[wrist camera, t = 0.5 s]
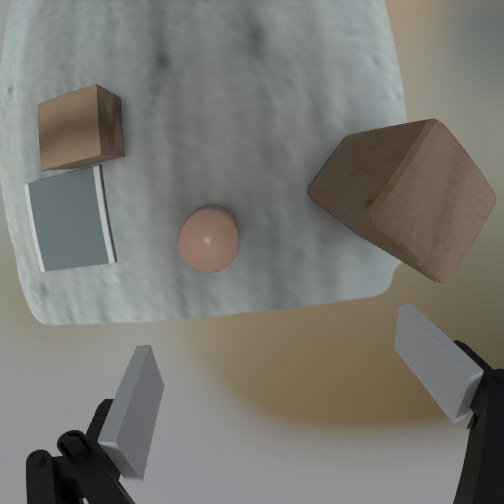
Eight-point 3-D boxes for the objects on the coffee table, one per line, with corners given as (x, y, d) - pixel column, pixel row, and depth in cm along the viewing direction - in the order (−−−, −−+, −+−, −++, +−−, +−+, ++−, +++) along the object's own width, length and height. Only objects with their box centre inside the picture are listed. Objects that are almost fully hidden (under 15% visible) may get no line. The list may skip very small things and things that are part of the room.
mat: (27, 184, 35) (24, 185, 34) (101, 165, 36) (98, 165, 35) (44, 270, 39) (41, 272, 38) (116, 261, 39) (114, 263, 38)
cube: (68, 112, 33) (38, 104, 26) (120, 97, 34) (96, 84, 26) (72, 168, 36) (41, 170, 28) (125, 156, 36) (101, 154, 28)
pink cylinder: (183, 208, 38) (173, 217, 32) (234, 202, 38) (234, 209, 32) (190, 257, 40) (183, 275, 33) (239, 251, 40) (241, 268, 33)
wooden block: (302, 192, 39) (370, 218, 19) (346, 132, 37) (439, 112, 18) (358, 236, 41) (446, 291, 22) (398, 180, 39) (503, 198, 20)
